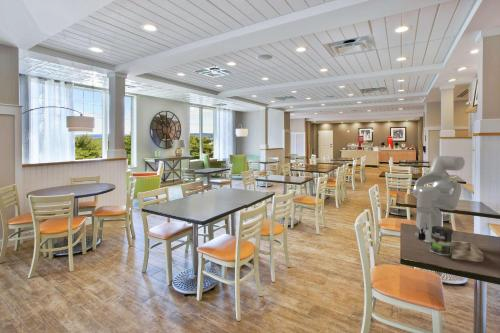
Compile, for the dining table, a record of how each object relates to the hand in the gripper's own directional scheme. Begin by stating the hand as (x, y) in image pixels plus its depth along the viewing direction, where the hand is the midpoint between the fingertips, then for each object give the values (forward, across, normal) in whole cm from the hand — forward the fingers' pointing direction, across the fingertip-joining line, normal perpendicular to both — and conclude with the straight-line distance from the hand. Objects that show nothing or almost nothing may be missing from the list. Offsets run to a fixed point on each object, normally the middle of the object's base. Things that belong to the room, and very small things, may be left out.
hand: (421, 239), depth 165 cm
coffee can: (+6, 0, +10) cm, 12 cm away
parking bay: (+6, 0, +20) cm, 21 cm away
